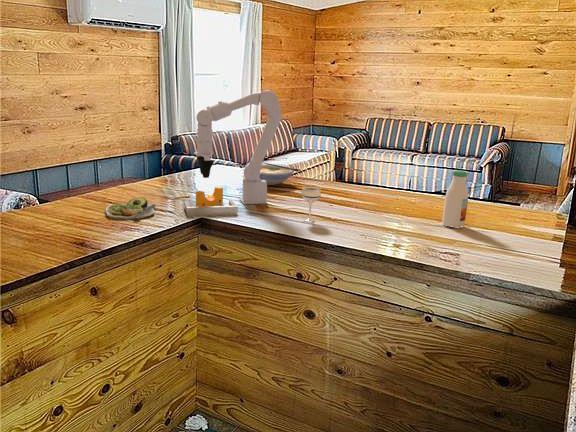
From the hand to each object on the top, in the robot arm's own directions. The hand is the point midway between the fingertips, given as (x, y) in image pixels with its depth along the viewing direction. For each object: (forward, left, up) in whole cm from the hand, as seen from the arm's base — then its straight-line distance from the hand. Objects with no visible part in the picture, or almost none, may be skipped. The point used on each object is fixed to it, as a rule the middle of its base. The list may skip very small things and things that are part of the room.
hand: (204, 175), depth 207 cm
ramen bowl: (-33, -28, -10) cm, 44 cm away
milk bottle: (-83, +46, -10) cm, 96 cm away
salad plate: (+28, +15, -10) cm, 34 cm away
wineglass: (-33, +33, -10) cm, 48 cm away
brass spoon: (+9, -6, -10) cm, 15 cm away
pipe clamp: (0, +8, -10) cm, 13 cm away
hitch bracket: (0, +16, -10) cm, 19 cm away
